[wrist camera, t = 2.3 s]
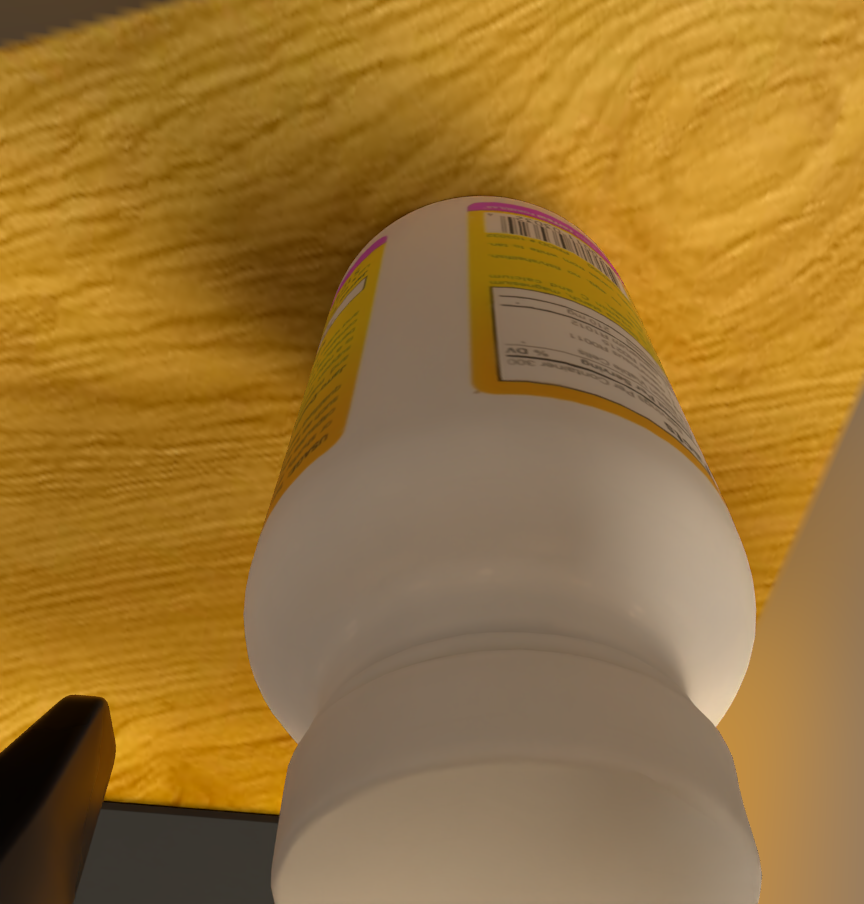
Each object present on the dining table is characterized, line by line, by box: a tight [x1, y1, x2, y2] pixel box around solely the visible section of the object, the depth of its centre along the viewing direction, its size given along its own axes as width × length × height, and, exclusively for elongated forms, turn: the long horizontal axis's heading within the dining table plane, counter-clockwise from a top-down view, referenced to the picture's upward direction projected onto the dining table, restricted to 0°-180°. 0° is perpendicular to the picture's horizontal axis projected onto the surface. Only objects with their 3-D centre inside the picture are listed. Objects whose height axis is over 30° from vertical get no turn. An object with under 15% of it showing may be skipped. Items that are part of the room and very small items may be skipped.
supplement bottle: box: [244, 196, 762, 904], centre depth 13 cm, size 7×7×13 cm
